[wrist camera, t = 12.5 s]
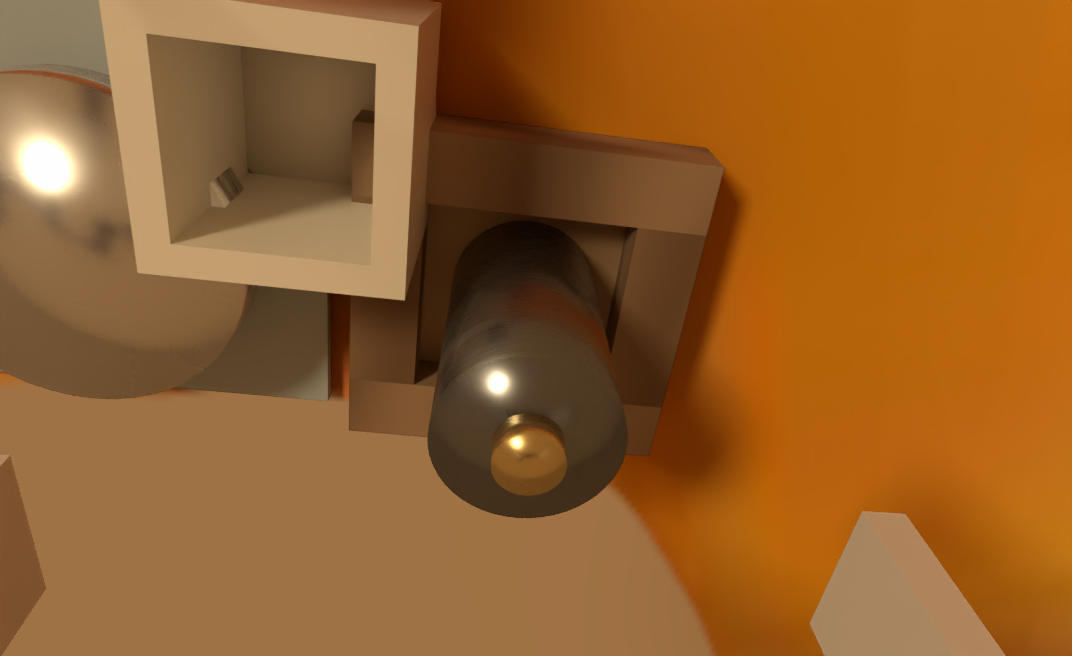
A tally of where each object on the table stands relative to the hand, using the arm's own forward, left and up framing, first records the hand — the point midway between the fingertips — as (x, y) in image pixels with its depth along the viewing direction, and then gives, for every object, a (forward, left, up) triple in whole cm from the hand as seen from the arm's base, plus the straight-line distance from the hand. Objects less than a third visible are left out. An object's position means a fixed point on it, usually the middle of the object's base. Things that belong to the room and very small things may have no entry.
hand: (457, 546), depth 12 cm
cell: (+1, -1, -12) cm, 12 cm away
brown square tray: (+1, -1, -13) cm, 13 cm away
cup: (-5, +4, -13) cm, 14 cm away
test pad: (-11, 0, -11) cm, 15 cm away
